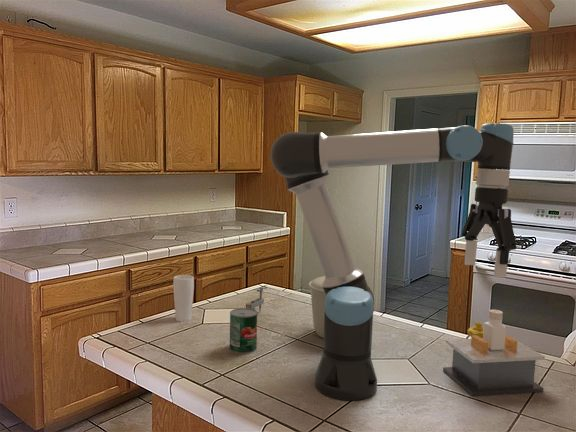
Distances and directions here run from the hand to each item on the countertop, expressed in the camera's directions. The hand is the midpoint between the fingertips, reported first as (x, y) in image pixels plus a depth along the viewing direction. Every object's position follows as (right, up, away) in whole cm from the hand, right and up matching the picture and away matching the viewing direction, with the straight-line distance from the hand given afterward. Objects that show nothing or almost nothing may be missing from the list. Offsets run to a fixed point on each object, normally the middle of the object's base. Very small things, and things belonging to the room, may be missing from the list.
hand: (483, 270), depth 121 cm
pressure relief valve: (+7, -27, +14) cm, 32 cm away
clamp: (-61, -22, +47) cm, 80 cm away
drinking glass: (-85, -22, +41) cm, 97 cm away
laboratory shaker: (+2, -28, +1) cm, 28 cm away
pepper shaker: (+2, -20, 0) cm, 20 cm away
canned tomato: (-63, -25, +18) cm, 70 cm away
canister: (-35, -24, +31) cm, 52 cm away
